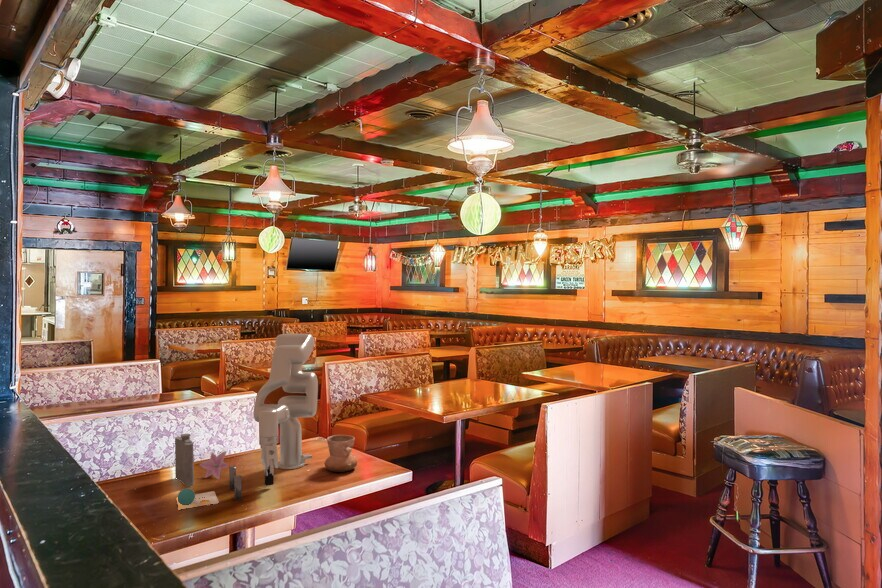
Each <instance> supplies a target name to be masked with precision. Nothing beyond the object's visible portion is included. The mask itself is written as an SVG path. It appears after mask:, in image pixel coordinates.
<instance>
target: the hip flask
mask: <svg viewBox="0 0 882 588" xmlns="http://www.w3.org/2000/svg"><path fill="white" fill-rule="evenodd" d="M174 450H175V451H174V455H175V457H174V458H175V463H174V464H175V467H174V468H175V469H174V471H175V479H176V478H177V479H179V480H181V481H182V482H183V483H184V484H185V485H184V484H183V483H182V482H181V481H180V482H181V483H182V484H183V485H184V487H185V486H186V488H192V487H191V486H193V487H194V486H195V472H194V471H195V470H194V469H195V468H194V466H195V465H194V462H195V461H194V460H195V459H194V451H195V450H194V442H193V441H192V440H191V433H182V434H180V436H176V437H174ZM177 479H176V480H177ZM179 480H178V481H179Z"/></svg>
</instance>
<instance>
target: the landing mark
mask: <svg viewBox="0 0 882 588" xmlns="http://www.w3.org/2000/svg"><path fill="white" fill-rule="evenodd" d="M202 497H203V498H202ZM204 497H205V498H204ZM195 498H196V499H195ZM195 498H194V501H193V503H196V504H197V505H199V503H200V501H202V500H209V501H210V503H211V504H213V505H217V504H218V503H220V502H219V499H218V497H217V495H216V492H215V490H213V491H212V490H211V491H207V492H202V493H201V492H200V493H195ZM199 498H200V499H199ZM208 503H209V502H208ZM210 503H209V505H207V502H206V505H207V506H211V505H210ZM218 505H219V504H218Z"/></svg>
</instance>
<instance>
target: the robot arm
mask: <svg viewBox="0 0 882 588" xmlns="http://www.w3.org/2000/svg"><path fill="white" fill-rule="evenodd" d="M275 346H276V347H275V348H274V349H273V352H272V353H273V354H272V358H271V359H272V360H271V365H270V372H269V379H268V380H267V381H266V382H265V383H264V384H263V385H262V387H261V388H260V389H259V391H258V392H257V394H256V396H255V401H254V406H253V419H254V421H255V422H256V423H257V422H258V445H259V446H261V447H260V448H261V450H260V451H261V459H260V460H261V465H262V467H263V468H264V485H265V486H266V487H267V486H273V485H274V483H275V482H274V479H275V478H274V475H275V474H274V471H275V469H277V470H278V469H281V470H295V469H298V468H299V469H300V468H302V467H304V466H305V465H306V460H312V459H313V454H308V453H306V454H304V453H302V452H303V450H302V447H303V446H302V440H303V439H302V438H303V437H302V436H303V435H302V425H301V422H300V420H299V419H298V418H312V417H314V416H315V415H316V414H317V410H318V396H319V395H318V394H319V393H318V392H319V380H318V376H317V374H316V373H315V372H313V371H303V364H305V363H306V362H307V361H308V359H309V358H310V356H311V353H313V350H314V347H315V338H314V336H313V335H312V334H311V333H282V334H281V333H280V334H278V335H277V336H276V338H275ZM281 387H282V390H283V392H285V393H289V394H305V395H285V396H282V397H281V398H279V400H278V401H277V404H275V403H273V404H271V403H268V404H265V400H266V398H267V397H268V395H269V394H270V393H272V392H273V391H275V390H277V389H279V388H281ZM277 444H279V453H278V446H277ZM278 454H279V455H278ZM274 468H275V469H274Z"/></svg>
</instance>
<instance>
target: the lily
mask: <svg viewBox="0 0 882 588" xmlns="http://www.w3.org/2000/svg"><path fill="white" fill-rule="evenodd" d="M226 455H227V450H225V451H223V452H221V453H219V454H217V455H216V454H215V453H214V452H211V454H210V458H209V459H208V460H205V461H202V462H200V463H199V466H200V467H201V468H203V469H205V470H206V471H205V472H206V473H205V476H204V479H206V478H208V477H210V476H211V475H213V476H214V478H216V480H220V477H221V471H222V470H223V469H226V468H228V467H230V464H228V463H226V461H224V460H225V457H226Z"/></svg>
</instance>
